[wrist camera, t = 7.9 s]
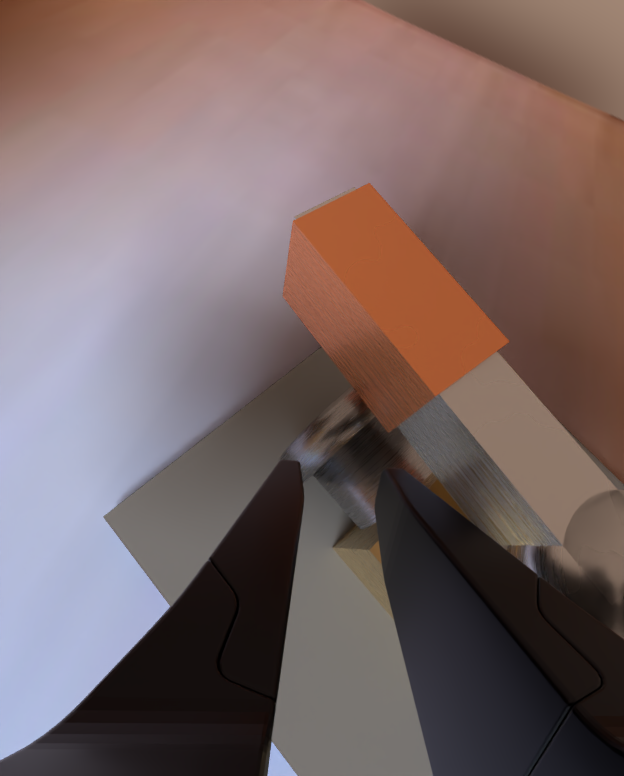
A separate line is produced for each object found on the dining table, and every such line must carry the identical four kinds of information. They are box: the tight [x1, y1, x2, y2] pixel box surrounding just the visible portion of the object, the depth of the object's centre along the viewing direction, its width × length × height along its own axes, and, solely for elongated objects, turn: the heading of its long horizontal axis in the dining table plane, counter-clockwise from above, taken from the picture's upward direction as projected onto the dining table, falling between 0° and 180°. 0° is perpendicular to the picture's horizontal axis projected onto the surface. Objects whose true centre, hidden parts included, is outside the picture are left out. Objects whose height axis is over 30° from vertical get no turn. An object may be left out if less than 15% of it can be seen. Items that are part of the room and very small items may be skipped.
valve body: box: [279, 386, 471, 620], centre depth 12 cm, size 12×5×6 cm, turn 42°
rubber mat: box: [104, 347, 624, 776], centre depth 15 cm, size 17×15×1 cm
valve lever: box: [283, 183, 624, 639], centre depth 9 cm, size 10×3×3 cm, turn 36°
